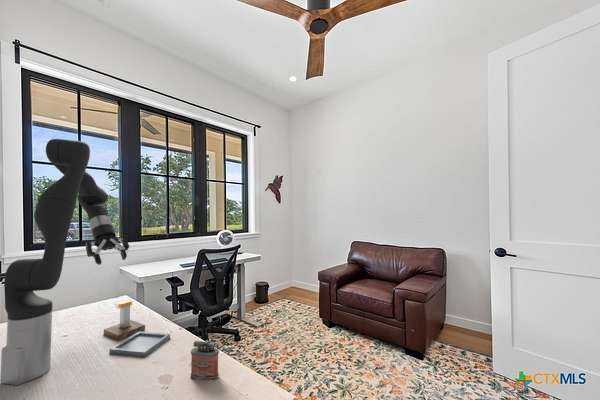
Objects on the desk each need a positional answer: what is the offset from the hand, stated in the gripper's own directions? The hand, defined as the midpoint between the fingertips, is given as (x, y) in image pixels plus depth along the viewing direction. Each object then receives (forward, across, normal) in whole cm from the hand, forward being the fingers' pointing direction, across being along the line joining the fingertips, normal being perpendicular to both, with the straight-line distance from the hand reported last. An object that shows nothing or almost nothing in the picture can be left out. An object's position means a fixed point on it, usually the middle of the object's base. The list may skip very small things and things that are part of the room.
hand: (112, 261), depth 108 cm
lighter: (+56, +3, -30) cm, 64 cm away
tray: (+36, 0, -4) cm, 36 cm away
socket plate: (+26, 0, +9) cm, 28 cm away
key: (+27, 0, +9) cm, 28 cm away
